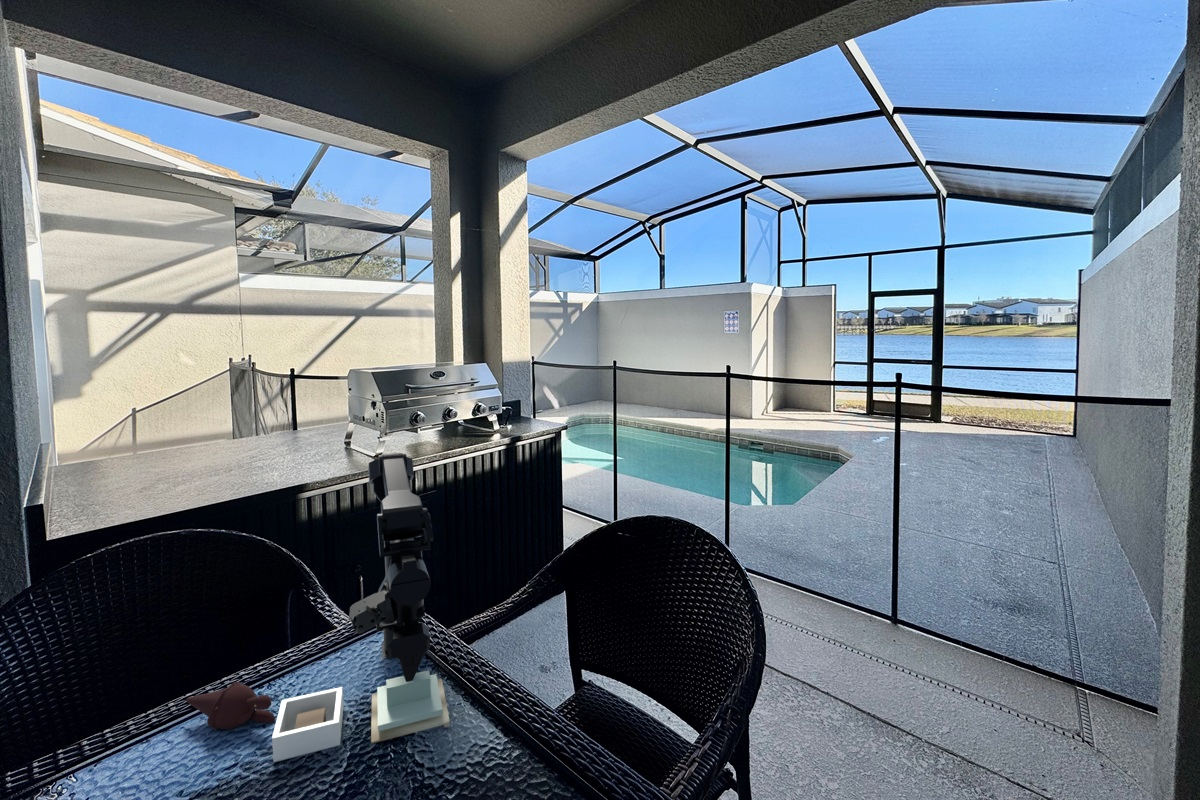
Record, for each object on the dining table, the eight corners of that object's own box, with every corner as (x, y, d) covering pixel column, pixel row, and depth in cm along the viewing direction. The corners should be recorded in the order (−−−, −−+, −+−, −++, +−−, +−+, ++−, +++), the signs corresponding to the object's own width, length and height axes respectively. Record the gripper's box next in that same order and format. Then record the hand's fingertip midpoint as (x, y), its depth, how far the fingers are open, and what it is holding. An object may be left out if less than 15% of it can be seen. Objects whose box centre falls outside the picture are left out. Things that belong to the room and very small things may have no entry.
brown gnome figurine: (162, 704, 83) (253, 718, 82) (200, 665, 90) (284, 677, 89) (172, 734, 86) (260, 748, 85) (208, 694, 93) (290, 706, 92)
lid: (377, 696, 94) (376, 669, 93) (436, 682, 98) (435, 656, 97) (378, 736, 85) (376, 705, 84) (442, 719, 88) (442, 689, 88)
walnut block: (298, 727, 86) (297, 713, 86) (325, 721, 88) (325, 707, 88) (295, 745, 83) (294, 730, 82) (323, 738, 84) (322, 723, 84)
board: (372, 698, 94) (371, 694, 94) (441, 682, 99) (441, 678, 99) (371, 746, 83) (371, 742, 83) (449, 726, 88) (449, 721, 88)
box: (283, 725, 88) (281, 700, 87) (343, 710, 91) (342, 686, 91) (273, 765, 80) (271, 738, 79) (340, 748, 83) (338, 722, 82)
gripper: (353, 562, 94) (357, 645, 95) (348, 613, 76) (353, 713, 78) (420, 553, 98) (422, 632, 100) (429, 599, 81) (431, 694, 83)
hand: (407, 664), depth 90 cm, fingers open, 9 cm apart
